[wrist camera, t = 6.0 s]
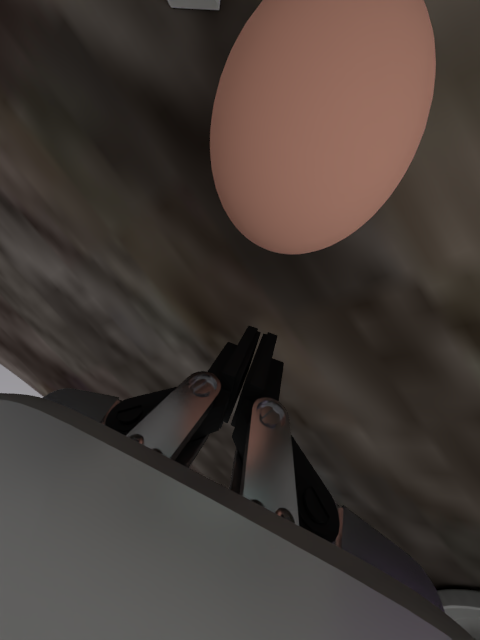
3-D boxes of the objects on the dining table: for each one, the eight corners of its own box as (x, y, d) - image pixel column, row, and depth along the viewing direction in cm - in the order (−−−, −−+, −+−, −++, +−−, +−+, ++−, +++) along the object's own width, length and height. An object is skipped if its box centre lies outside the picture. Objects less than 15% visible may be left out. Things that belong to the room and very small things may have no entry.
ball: (569, -185, 3) (365, 174, 8) (217, -112, 4) (246, 165, 9) (556, 124, 2) (343, 290, 7) (125, 112, 3) (216, 266, 8)
